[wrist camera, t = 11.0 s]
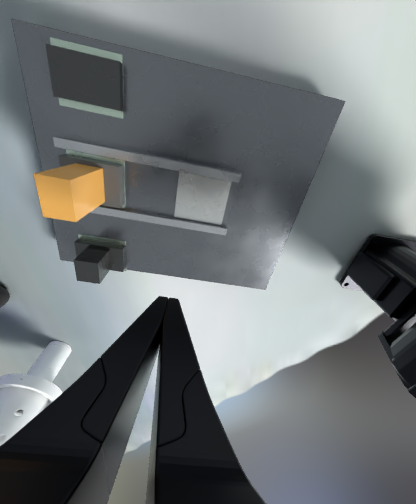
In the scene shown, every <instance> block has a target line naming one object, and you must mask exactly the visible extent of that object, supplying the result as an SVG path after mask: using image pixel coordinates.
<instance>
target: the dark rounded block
mask: <svg viewBox="0 0 416 504" xmlns="http://www.w3.org/2000/svg"><path fill="white" fill-rule="evenodd" d="M9 298H10V294H9V292H8V291H7V290H6V289H5V288H3V287H2V286H0V308H1V307H2V306H3V305H4V304H5V303H6V302H7V301H8V300H9Z"/></svg>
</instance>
